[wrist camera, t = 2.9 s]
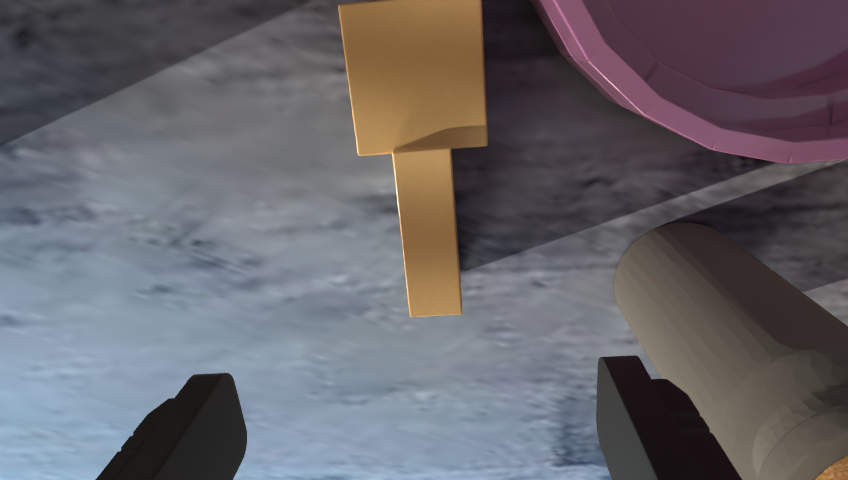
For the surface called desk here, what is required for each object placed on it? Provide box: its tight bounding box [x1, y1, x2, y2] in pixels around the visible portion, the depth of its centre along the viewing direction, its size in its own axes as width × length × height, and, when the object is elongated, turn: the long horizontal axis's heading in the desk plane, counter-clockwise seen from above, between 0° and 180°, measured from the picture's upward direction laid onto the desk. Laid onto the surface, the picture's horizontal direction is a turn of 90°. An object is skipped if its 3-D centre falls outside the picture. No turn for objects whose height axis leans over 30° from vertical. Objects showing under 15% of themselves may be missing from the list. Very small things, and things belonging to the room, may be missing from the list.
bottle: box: [614, 223, 848, 480], centre depth 19 cm, size 6×6×15 cm
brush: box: [338, 0, 488, 317], centre depth 22 cm, size 12×5×4 cm, turn 5°
